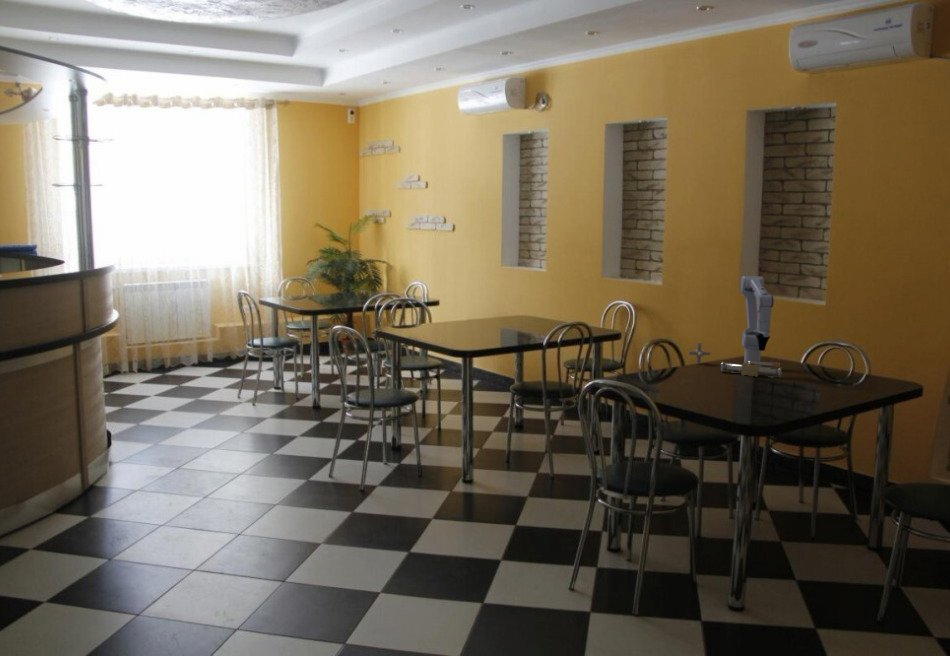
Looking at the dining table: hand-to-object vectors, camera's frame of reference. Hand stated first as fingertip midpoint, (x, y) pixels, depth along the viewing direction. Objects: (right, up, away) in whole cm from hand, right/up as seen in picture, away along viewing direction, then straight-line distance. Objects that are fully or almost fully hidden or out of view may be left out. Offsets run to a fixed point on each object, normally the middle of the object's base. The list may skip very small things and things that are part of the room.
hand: (761, 350), depth 392 cm
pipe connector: (-23, -7, +22) cm, 33 cm away
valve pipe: (-6, -11, -4) cm, 13 cm away
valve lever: (-1, -6, -7) cm, 10 cm away
